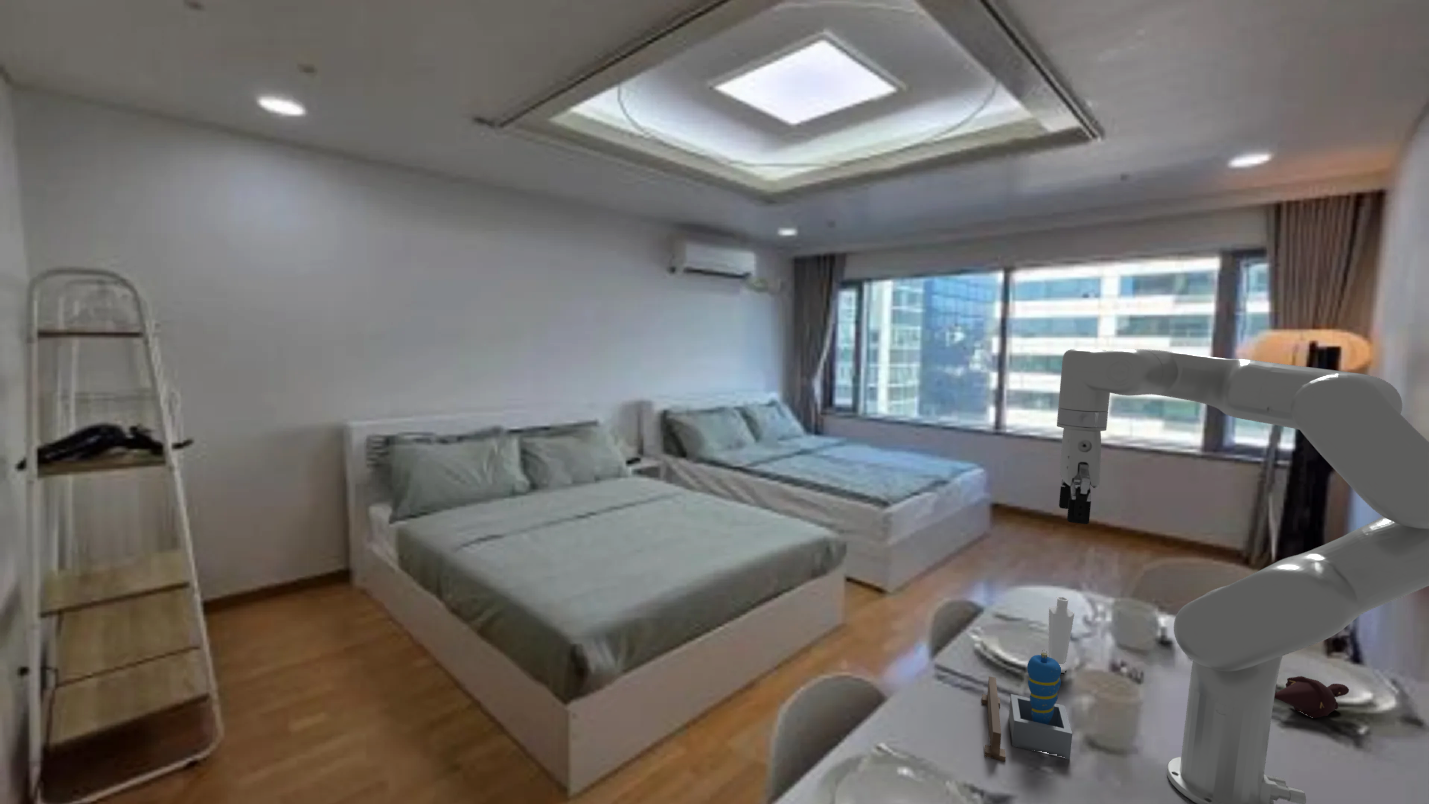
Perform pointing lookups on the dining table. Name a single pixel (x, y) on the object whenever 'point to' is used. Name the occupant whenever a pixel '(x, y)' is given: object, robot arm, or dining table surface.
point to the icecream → (1311, 696)
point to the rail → (993, 722)
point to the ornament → (1043, 686)
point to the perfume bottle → (1060, 630)
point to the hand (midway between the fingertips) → (1073, 515)
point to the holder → (1039, 729)
